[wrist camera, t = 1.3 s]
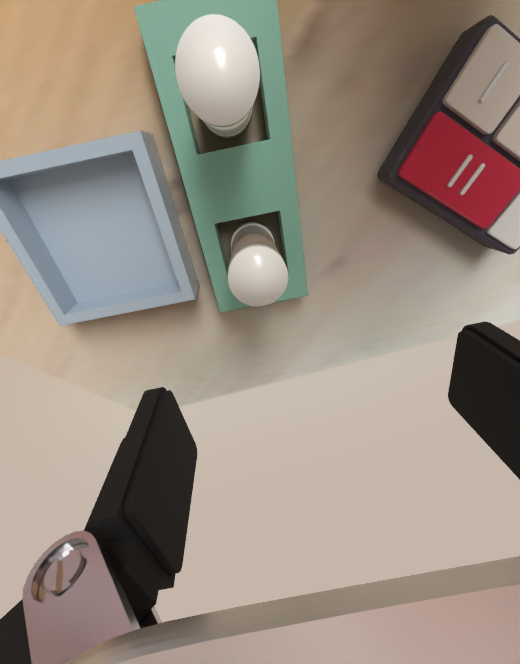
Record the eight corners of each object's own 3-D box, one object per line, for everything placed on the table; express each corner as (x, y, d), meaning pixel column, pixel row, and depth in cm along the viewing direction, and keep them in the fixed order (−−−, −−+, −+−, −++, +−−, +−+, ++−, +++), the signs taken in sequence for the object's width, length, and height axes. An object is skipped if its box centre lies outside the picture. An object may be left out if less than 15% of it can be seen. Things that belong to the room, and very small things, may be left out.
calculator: (498, 4, 19) (637, 130, 22) (457, 32, 23) (582, 135, 26) (390, 177, 24) (519, 258, 27) (371, 176, 27) (486, 247, 31)
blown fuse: (226, 225, 28) (221, 255, 19) (269, 217, 28) (284, 242, 19) (236, 267, 30) (235, 311, 21) (276, 260, 30) (291, 300, 21)
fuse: (192, 77, 22) (162, 25, 14) (246, 65, 22) (251, 4, 13) (207, 142, 24) (189, 132, 16) (256, 131, 24) (266, 115, 16)
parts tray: (-4, 168, 24) (-38, 169, 21) (152, 134, 24) (140, 130, 21) (76, 309, 31) (59, 325, 28) (199, 285, 31) (195, 299, 28)
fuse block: (144, 22, 21) (133, 6, 18) (270, -7, 20) (274, -27, 18) (221, 302, 32) (220, 312, 30) (303, 286, 31) (307, 295, 29)
